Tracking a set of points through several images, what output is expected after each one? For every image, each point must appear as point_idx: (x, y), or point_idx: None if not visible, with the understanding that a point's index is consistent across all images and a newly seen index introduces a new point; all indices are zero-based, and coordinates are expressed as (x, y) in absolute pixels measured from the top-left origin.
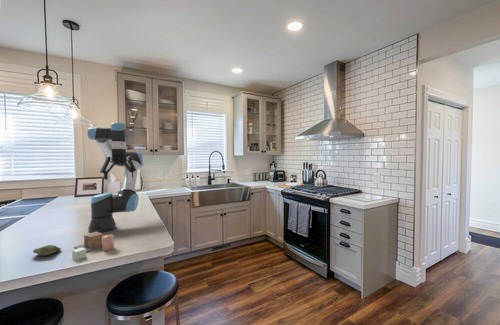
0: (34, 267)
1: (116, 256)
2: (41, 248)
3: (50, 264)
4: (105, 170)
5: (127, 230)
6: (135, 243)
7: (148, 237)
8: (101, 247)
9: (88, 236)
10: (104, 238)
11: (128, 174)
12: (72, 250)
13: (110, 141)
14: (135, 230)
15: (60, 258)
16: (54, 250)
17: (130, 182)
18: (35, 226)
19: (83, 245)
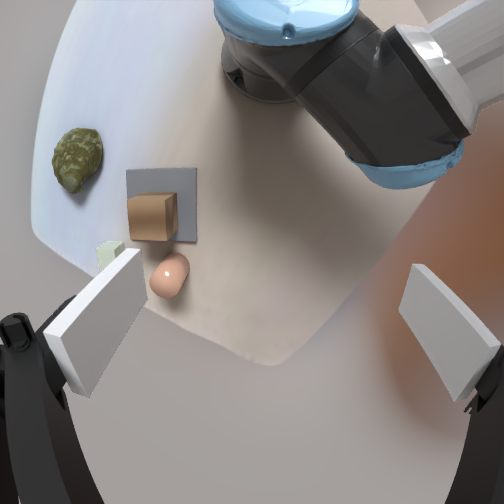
0: (57, 219)
1: (169, 319)
2: (58, 169)
3: (75, 232)
4: (13, 389)
5: (319, 153)
6: (243, 293)
7: (296, 287)
8: (170, 239)
9: (129, 229)
10: (152, 289)
11: (465, 333)
12: (96, 250)
13: None
14: (332, 183)
15: (91, 215)
16: (79, 187)
17: (401, 305)
18: None
19: (144, 182)
